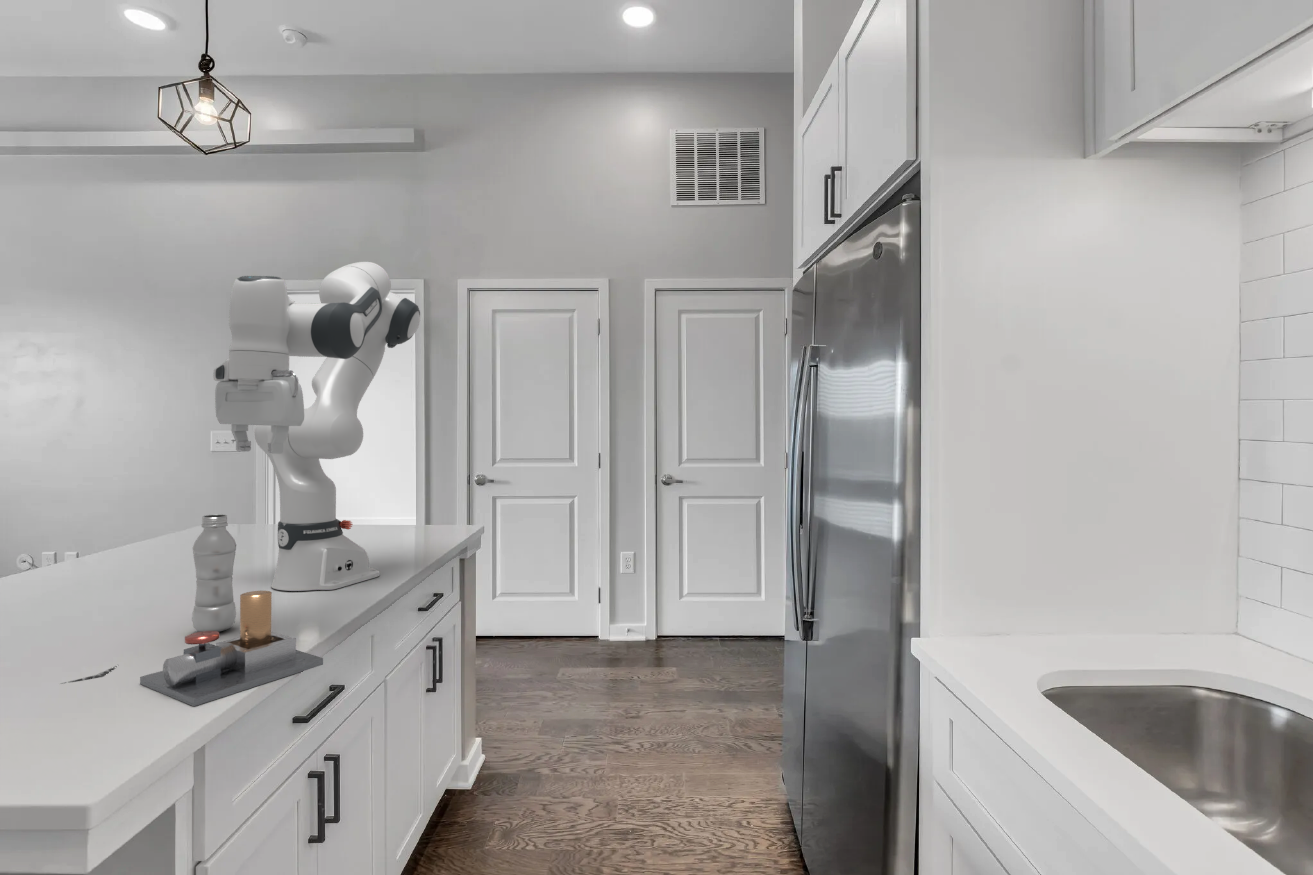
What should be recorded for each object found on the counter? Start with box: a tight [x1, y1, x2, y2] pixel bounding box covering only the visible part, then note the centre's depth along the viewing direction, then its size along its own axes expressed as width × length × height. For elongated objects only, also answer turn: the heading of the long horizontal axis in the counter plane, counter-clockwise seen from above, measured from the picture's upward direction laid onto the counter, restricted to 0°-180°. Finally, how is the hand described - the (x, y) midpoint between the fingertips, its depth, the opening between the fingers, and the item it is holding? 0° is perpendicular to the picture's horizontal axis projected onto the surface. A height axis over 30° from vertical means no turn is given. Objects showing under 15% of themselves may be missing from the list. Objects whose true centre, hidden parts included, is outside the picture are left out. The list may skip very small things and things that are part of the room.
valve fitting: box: [139, 631, 324, 707], centre depth 99 cm, size 18×14×7 cm
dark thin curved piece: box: [59, 665, 118, 685], centre depth 98 cm, size 13×1×5 cm
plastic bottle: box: [191, 513, 237, 633], centre depth 118 cm, size 6×7×20 cm
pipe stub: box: [239, 590, 273, 649], centre depth 102 cm, size 4×4×10 cm
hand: (259, 452), depth 116 cm, fingers open, 8 cm apart
